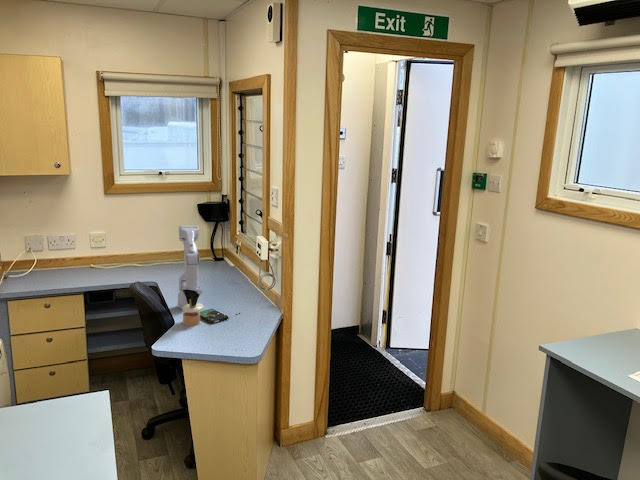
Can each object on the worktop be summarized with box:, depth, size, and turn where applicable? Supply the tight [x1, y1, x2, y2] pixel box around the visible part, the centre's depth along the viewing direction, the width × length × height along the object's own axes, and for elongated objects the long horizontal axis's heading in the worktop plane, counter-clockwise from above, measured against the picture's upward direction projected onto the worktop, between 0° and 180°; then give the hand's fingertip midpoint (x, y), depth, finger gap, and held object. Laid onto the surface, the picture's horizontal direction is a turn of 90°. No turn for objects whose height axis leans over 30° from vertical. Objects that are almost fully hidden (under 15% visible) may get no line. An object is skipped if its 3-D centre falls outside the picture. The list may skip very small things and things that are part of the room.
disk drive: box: [198, 308, 230, 325], centre depth 257 cm, size 10×3×15 cm
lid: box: [182, 299, 204, 313], centre depth 249 cm, size 10×10×5 cm
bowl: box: [182, 311, 201, 327], centre depth 250 cm, size 8×8×4 cm
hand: (191, 304), depth 248 cm, fingers closed on lid, 3 cm apart
